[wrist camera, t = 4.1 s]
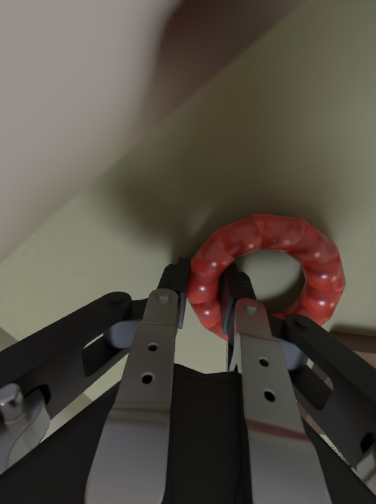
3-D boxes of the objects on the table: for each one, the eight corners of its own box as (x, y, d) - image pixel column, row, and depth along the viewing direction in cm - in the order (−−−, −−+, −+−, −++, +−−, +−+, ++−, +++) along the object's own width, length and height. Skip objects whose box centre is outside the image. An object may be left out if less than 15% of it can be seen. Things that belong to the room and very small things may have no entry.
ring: (195, 203, 12) (193, 211, 10) (356, 219, 11) (381, 230, 10) (184, 323, 15) (181, 344, 13) (306, 339, 15) (318, 362, 13)
